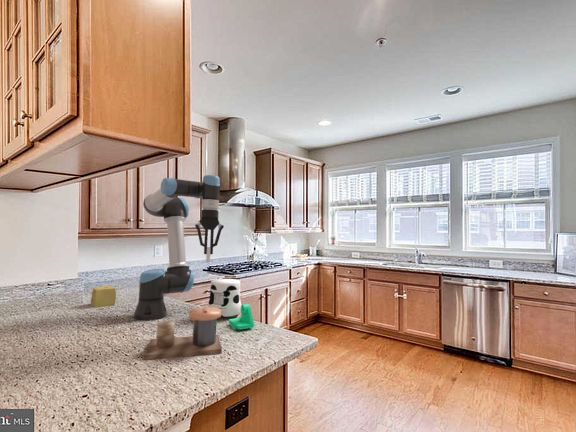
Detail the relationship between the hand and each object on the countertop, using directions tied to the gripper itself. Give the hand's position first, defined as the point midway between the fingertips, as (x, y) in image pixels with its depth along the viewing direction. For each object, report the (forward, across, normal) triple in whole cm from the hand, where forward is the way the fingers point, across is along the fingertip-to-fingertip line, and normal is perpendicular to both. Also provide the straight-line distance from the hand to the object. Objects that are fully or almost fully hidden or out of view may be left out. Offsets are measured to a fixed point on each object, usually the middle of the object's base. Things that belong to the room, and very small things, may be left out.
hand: (208, 261), depth 140 cm
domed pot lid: (+21, -1, -20) cm, 29 cm away
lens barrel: (+29, -1, -20) cm, 35 cm away
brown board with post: (+30, -8, -20) cm, 37 cm away
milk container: (+31, +10, +22) cm, 39 cm away
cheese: (+31, -55, +57) cm, 85 cm away
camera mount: (+31, +16, +2) cm, 35 cm away
